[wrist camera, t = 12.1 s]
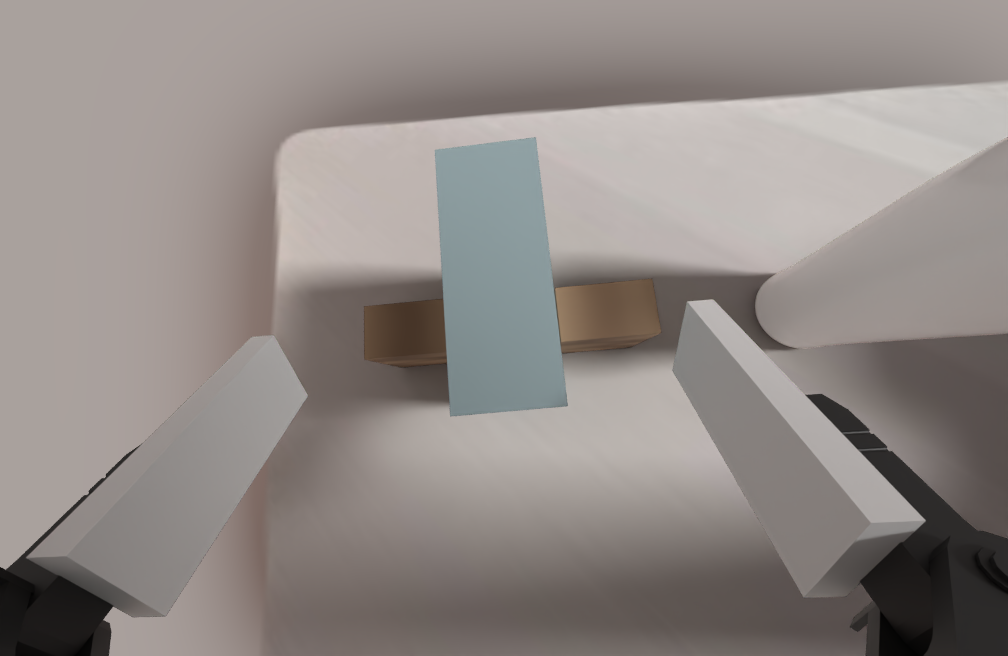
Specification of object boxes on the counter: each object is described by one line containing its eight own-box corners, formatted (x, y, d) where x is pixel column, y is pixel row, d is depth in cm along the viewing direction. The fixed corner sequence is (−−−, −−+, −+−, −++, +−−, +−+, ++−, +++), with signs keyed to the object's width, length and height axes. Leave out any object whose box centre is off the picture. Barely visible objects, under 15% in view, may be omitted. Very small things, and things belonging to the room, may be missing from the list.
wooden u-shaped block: (624, 304, 25) (652, 278, 19) (630, 347, 25) (661, 332, 19) (400, 325, 26) (364, 306, 20) (401, 367, 25) (364, 359, 20)
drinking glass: (855, 282, 24) (1355, 111, 10) (832, 376, 23) (1349, 344, 9) (754, 250, 25) (1070, 47, 10) (727, 339, 24) (1035, 252, 10)
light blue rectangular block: (531, 273, 26) (535, 137, 12) (545, 399, 24) (567, 405, 11) (483, 278, 26) (434, 149, 12) (494, 404, 24) (450, 416, 11)
